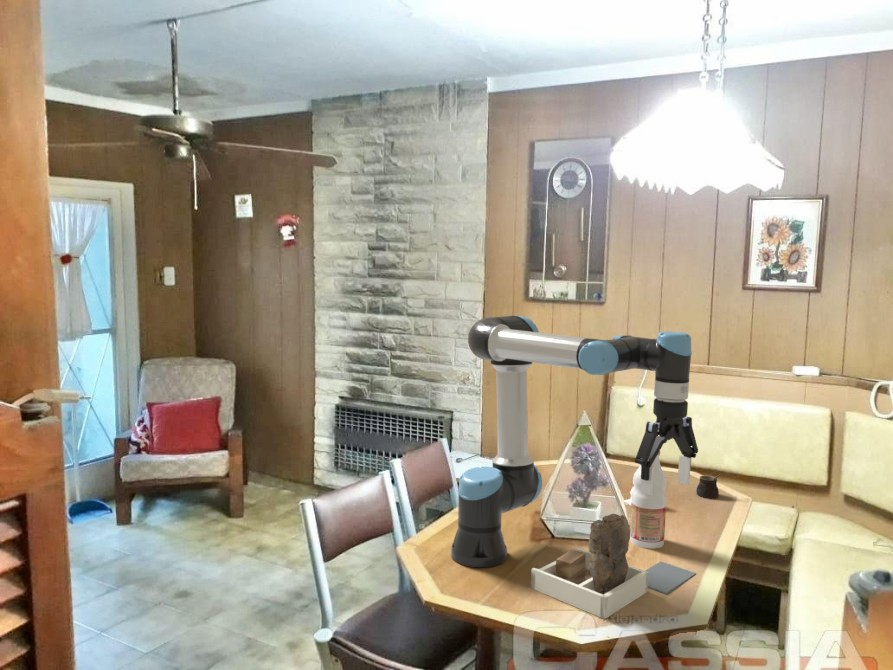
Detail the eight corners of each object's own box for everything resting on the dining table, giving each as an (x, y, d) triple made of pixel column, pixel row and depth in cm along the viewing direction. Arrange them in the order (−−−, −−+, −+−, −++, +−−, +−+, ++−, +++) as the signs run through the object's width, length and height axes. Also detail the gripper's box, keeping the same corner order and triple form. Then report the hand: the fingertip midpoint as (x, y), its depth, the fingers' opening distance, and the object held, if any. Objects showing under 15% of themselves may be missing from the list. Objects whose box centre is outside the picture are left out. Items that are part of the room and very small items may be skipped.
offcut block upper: (555, 572, 176) (556, 559, 175) (571, 562, 182) (571, 549, 182) (570, 577, 173) (570, 563, 173) (585, 566, 180) (585, 553, 179)
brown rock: (616, 585, 177) (620, 508, 175) (634, 592, 173) (637, 513, 171) (584, 603, 167) (587, 521, 165) (601, 611, 163) (605, 527, 161)
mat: (629, 581, 179) (629, 579, 179) (660, 563, 190) (660, 561, 190) (666, 594, 172) (666, 592, 172) (696, 574, 183) (696, 573, 183)
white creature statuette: (616, 508, 233) (617, 472, 232) (631, 502, 239) (632, 467, 238) (641, 515, 226) (643, 479, 225) (656, 509, 232) (657, 474, 231)
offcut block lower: (553, 585, 176) (554, 572, 176) (571, 575, 182) (572, 562, 182) (567, 590, 174) (567, 577, 173) (585, 580, 179) (585, 567, 179)
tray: (530, 588, 174) (531, 568, 174) (575, 565, 188) (576, 547, 188) (604, 619, 160) (605, 597, 159) (647, 591, 174) (648, 572, 173)
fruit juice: (623, 541, 205) (627, 446, 202) (647, 536, 209) (652, 443, 206) (645, 553, 197) (650, 455, 194) (671, 547, 201) (675, 451, 198)
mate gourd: (694, 496, 246) (695, 468, 245) (717, 498, 245) (718, 469, 244) (697, 503, 239) (698, 474, 238) (721, 504, 238) (722, 475, 237)
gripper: (649, 407, 153) (643, 502, 155) (717, 396, 167) (711, 483, 170) (622, 401, 159) (617, 492, 161) (690, 391, 173) (684, 475, 176)
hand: (665, 488), depth 166 cm, fingers open, 13 cm apart
